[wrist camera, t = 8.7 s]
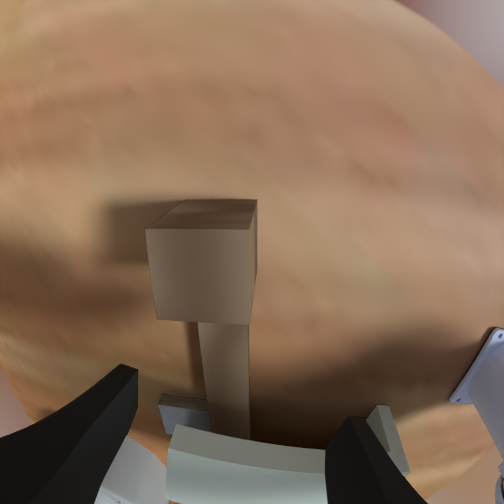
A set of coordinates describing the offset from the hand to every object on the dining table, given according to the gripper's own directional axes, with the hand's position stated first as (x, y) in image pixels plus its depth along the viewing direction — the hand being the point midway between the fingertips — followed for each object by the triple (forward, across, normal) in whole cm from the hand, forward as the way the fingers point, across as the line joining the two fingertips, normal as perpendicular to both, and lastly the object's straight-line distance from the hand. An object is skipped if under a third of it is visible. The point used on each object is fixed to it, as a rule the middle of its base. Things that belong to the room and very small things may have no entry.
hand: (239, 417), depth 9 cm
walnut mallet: (+10, +1, +5) cm, 11 cm away
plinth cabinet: (+10, -5, +12) cm, 17 cm away
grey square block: (+10, +2, +13) cm, 17 cm away
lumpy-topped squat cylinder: (+10, +9, +26) cm, 29 cm away
